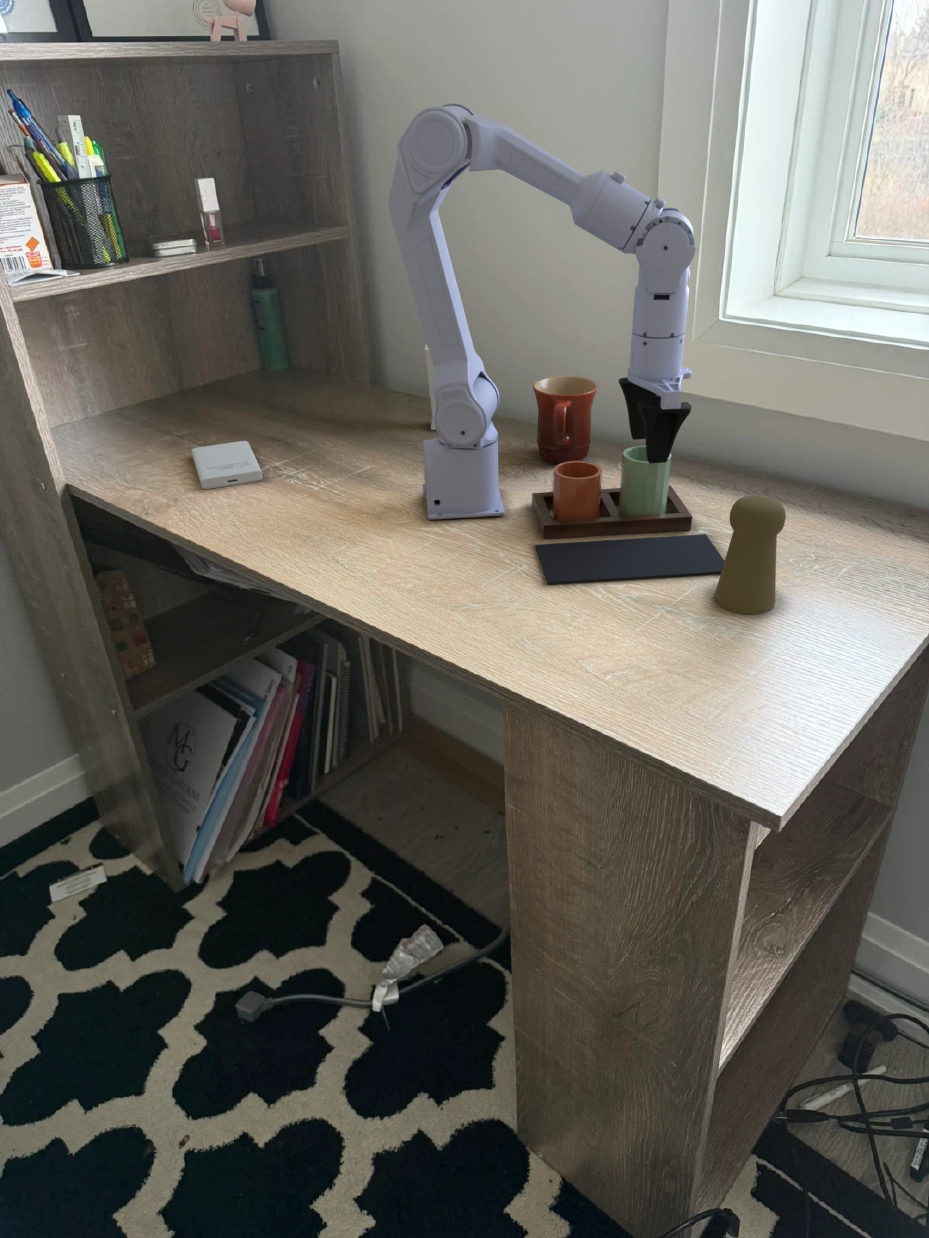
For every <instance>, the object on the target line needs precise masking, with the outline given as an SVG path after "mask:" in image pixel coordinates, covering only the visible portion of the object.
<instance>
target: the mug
mask: <svg viewBox="0 0 929 1238" xmlns="http://www.w3.org/2000/svg"><path fill="white" fill-rule="evenodd" d="M532 388H533V392H534V395H535V399H536V403H537V404H536V405H537V431H536V432H537V434H536V435H537V438H536V444H537V450H538V455H539V456H540V458H542V459H543V460H544V461H546V462H548V463H550V464H555V465H558V464H560V463H564V462H568V461H583V460H584V459H585V458H587V456H588V455H589V450H590V448H591V447H590V446H591V442H592V439H591V433H592V408H593V403H594V401H595V397H596V394H597V392H598V389H599V384H598V383H597V382H596V381H595V380H592V379H590V378H586V377H583V376H582V377H581V376H574V375H558V376H555V375H554V376H549V377H545V378H541V379H539V380H537V381H535V382H533V385H532Z"/></svg>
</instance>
